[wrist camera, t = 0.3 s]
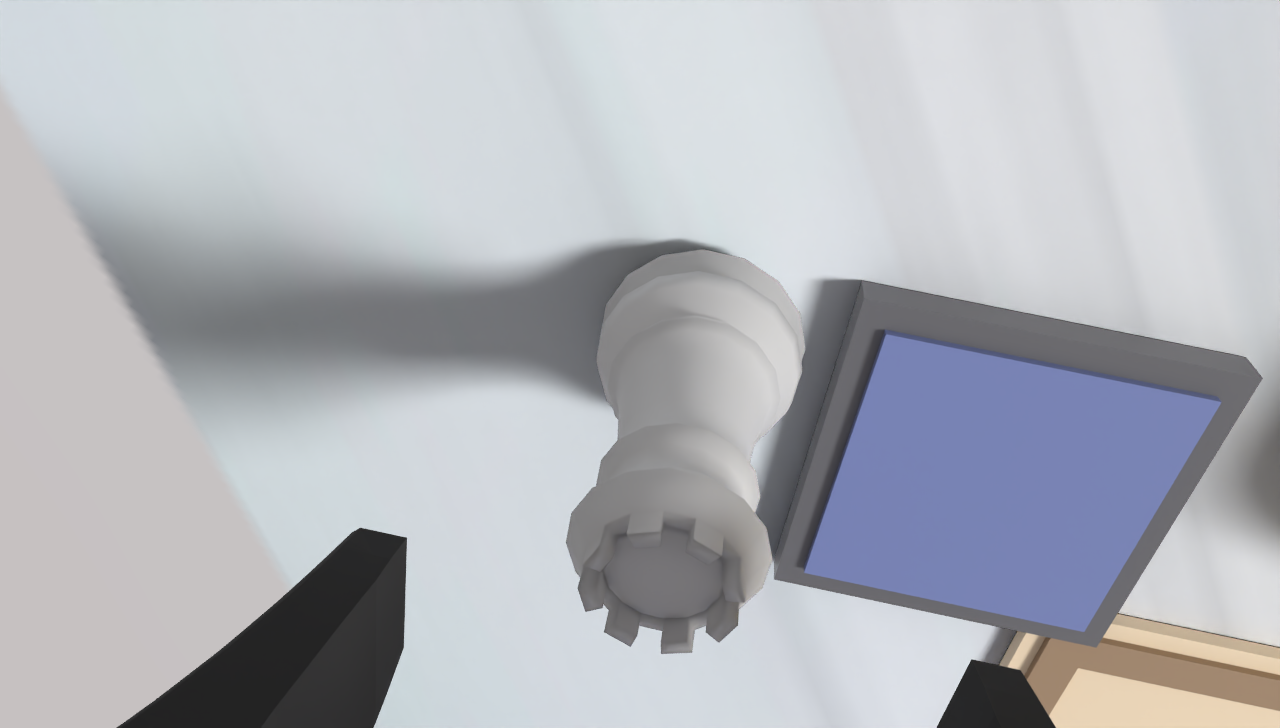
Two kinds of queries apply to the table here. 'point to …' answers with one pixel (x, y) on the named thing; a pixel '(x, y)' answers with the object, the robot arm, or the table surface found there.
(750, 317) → the rook chess piece
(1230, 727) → the mat
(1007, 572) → the ink pad
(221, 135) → the table surface
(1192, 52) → the table surface
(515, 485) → the table surface
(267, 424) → the table surface
